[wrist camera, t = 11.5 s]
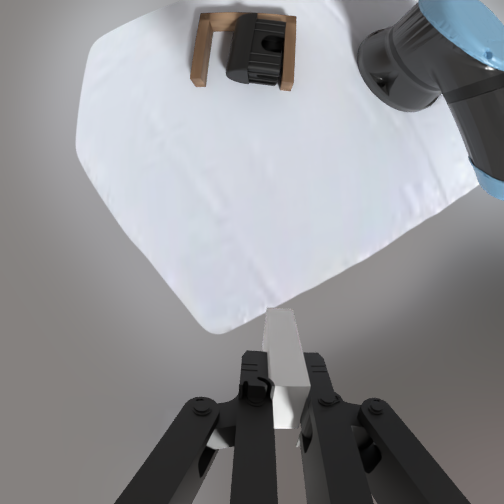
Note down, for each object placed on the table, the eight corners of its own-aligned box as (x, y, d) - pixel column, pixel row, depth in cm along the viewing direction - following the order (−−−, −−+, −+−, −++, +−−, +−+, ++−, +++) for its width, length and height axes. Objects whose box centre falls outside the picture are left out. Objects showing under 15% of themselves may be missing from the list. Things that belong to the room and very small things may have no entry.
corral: (293, 28, 32) (296, 16, 28) (290, 91, 35) (293, 82, 32) (205, 25, 32) (200, 13, 28) (196, 86, 35) (189, 78, 32)
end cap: (238, 31, 33) (235, 10, 26) (283, 36, 33) (287, 15, 26) (228, 84, 35) (222, 68, 29) (276, 89, 36) (279, 74, 29)
